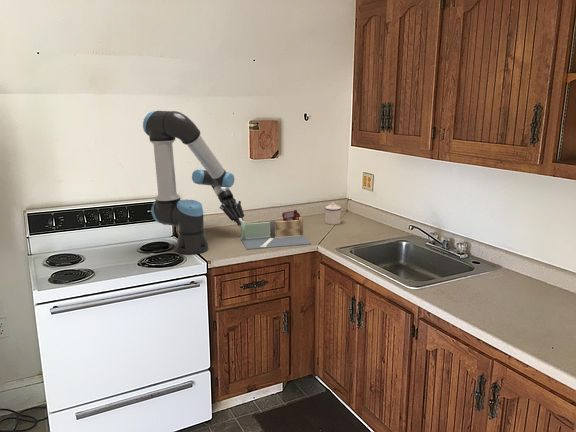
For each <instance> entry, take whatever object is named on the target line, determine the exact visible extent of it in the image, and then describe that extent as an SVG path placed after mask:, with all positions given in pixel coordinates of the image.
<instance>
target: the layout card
mask: <svg viewBox="0 0 576 432" xmlns="http://www.w3.org/2000/svg"><path fill="white" fill-rule="evenodd" d="M239 238H240V240H241V242H242V244H243V245H244V248H245V250H247V251H248V250H258V249H259V250H260V249H269V248H282V247H293V246H294V247H295V246H307V245H312V242H311V241H309V239H307V237H305V236H304V234H303V235H302V236H288V237H276V232H275V238H270V236H264V237H251V238H246V239H242V235H239Z"/></svg>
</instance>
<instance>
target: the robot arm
mask: <svg viewBox="0 0 576 432" xmlns="http://www.w3.org/2000/svg"><path fill="white" fill-rule="evenodd" d="M142 129H143V132H144V133H145V134H146V135H147V136H149V137H148V138H149V142H150V143H151V144H152V146H153V153H154V163H155V175H156V183H157V185H156V186H157V195H156V197H155V201H153V203H152V206H151V209H150V210H151V212H150V213H151V216H152V218H153V220H155V222H157V223H158V224H162V225H165V226H171V227H178V238H177V241H176V244H175V250H176V253H178V254H181V255H196V254H197V255H198V254H202V253H205V252H207V251H209V242H208V240H207V238H206V235H205V230H204V229H205V226H204V224H205V223H204V208H203V204H202V203H201V202H200V201H197V200H194V199H181V196H180V195H179V194H178V193H177V183H176V173H175V171H176V169H175V161H174V146H173V144H174V143H175V141H176V138H177V139H179V141H181V142H182V144H183V145H187V147H188V148H189V150H190V151H191V152H192V153H193V155H194V156H195V157H196V159H197V160H198V161H199V163H200V164H201V166H202V167H203V168H204V169H199V168H198V169H195V170H193V172H192V174H191V180H192V182H193V183H194V184H196V185H203V186H211V188H212V190H213V191H214V193H215V195H216V196H217V199H218V200H219V202H220V203H221V205H220V206H219V209H220V210H222V211H223V213H224V214H225V215H226V216H227V217H228V218H229V220H230V221H231V222H232V221H233V222H234V223H236V224H237V226H239V228H240V229H241V221H245V220H244V219H243V218H244V217H245V214H244V210H243V208H242V205H241V204H242V202H241V200H236V199H235V198H234V195H233V192H232V191H231V190H230V188H232V187H233V185H234V184H235V175H234V174H233V173H232V172H229V171H228V172H227V171H226V169H225V168H224V167H223V165H222V164H221V162H220V161H219V160H218V159H217V157H216V156H215V154H214V153H213V151H212V150H211V148H210V147H209V146H208V144H207V143H206V142H205V140H204V139H203V137H202V136H201V131H200V129H199V128H198V126H197V125H196V124H195V123H194V121H192V120H191V119H190V118H189V117H188V116H187V115H185V114H184V113H182V112H180V111H176V110H152V111H150V112H148V113H147V114H146V115H145V116H144V118H143V122H142Z"/></svg>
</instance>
